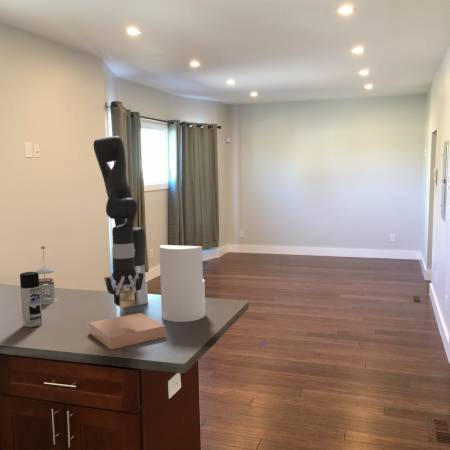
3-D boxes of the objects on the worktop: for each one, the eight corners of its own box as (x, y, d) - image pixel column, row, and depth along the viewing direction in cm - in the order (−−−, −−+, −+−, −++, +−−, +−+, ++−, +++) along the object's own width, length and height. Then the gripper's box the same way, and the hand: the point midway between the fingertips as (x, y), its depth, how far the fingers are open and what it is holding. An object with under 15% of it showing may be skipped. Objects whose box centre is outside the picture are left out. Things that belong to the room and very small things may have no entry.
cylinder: (194, 323, 190) (193, 249, 187) (153, 319, 196) (151, 248, 193) (211, 311, 206) (210, 243, 203) (173, 307, 212) (171, 241, 209)
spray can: (30, 328, 187) (27, 275, 184) (19, 326, 190) (15, 273, 188) (45, 323, 192) (42, 272, 190) (34, 321, 196) (31, 270, 194)
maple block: (129, 302, 180) (128, 288, 179) (134, 305, 176) (134, 291, 175) (115, 304, 177) (115, 290, 177) (121, 307, 173) (120, 293, 172)
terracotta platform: (141, 322, 192) (140, 312, 191) (165, 337, 175) (165, 325, 175) (89, 333, 180) (89, 322, 180) (110, 349, 164) (110, 337, 163)
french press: (53, 304, 221) (50, 247, 218) (26, 304, 221) (23, 247, 218) (60, 298, 231) (57, 244, 228) (35, 298, 231) (32, 244, 228)
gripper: (138, 252, 182) (139, 298, 183) (99, 256, 174) (101, 305, 175) (147, 255, 175) (148, 302, 177) (107, 259, 167) (109, 309, 169)
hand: (125, 303), depth 176 cm, fingers closed on maple block, 5 cm apart
